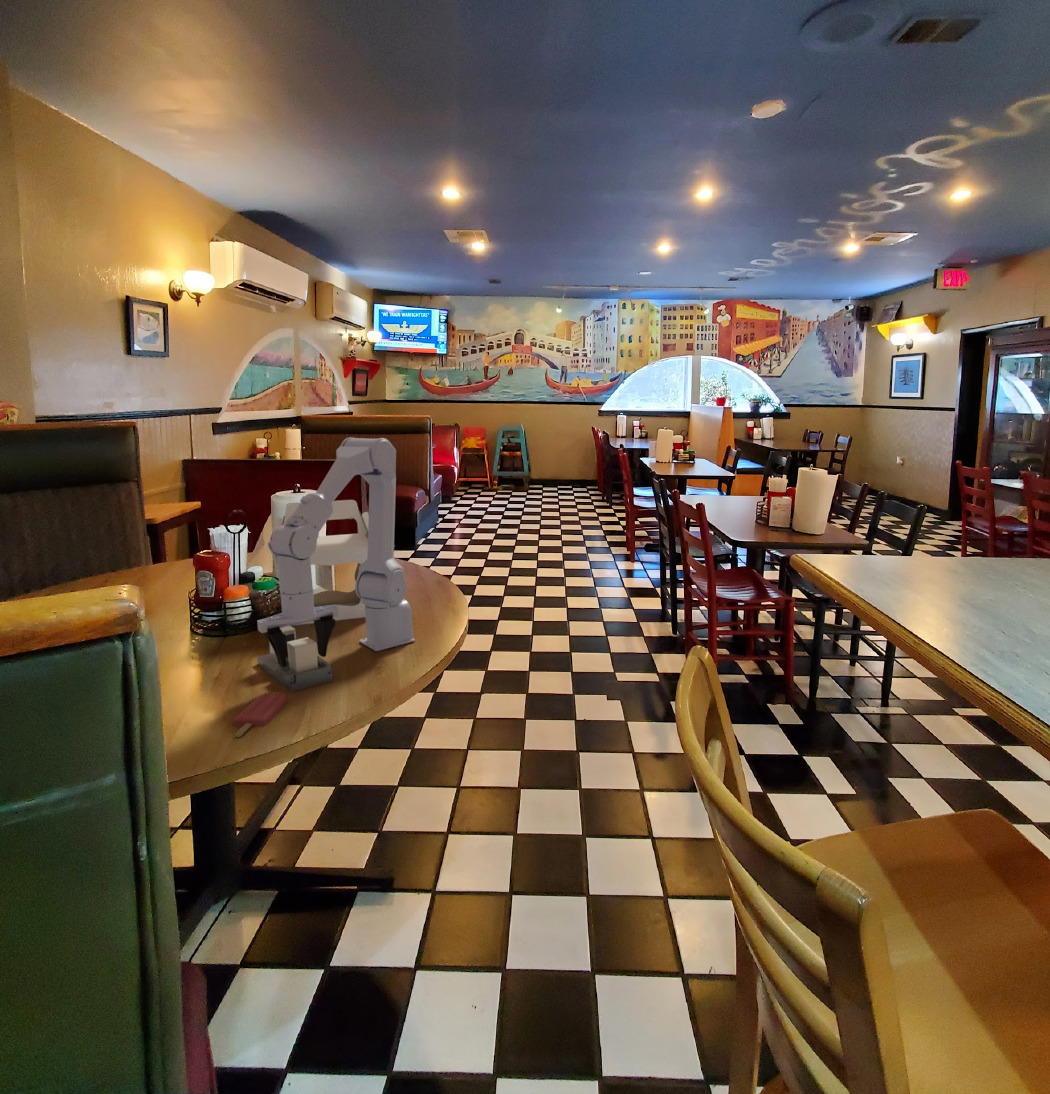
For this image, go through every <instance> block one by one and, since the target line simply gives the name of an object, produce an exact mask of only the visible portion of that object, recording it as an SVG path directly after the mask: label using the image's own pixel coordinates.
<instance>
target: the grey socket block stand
mask: <svg viewBox="0 0 1050 1094" xmlns="http://www.w3.org/2000/svg"><path fill="white" fill-rule="evenodd" d="M280 630H282V633H283V634H285V656H286V667H281V666H280V665H279V664H278V660H277V657H276V654H275V652H274V649H273V647H272V645H271V644H270V642H269V641H268V642H269V643H268V644H269V653H268V654H263V655H259V656H256V657H257V658H256V659H257V665H259V666H260V667H261V668H262V669H263V670H264V671H265V672H267V673H268V674H269V675H271V676H272V678H273V679H275V680H276V681H277V682H279V683H280V685H282V686H283V687H284V688H286V689H287V690H288V691H289V692H290V693H293V692H297V691H300V690H305V689H308V688H311V687H315V686H319V685H323V684H326V683H329V682H333V681H334V674H333V672H332V664H331V663H329V662H328V661H326V660H325V659H324V658H323V657H320V655H317V661H318V667H317V668H313V669H309V670H306V671H302V672H298V673H294V674H293V673H292V672H291V671H290V670H289V659H288V649H287V642H289V641H293V640H297V635H296V634H297V633H296V631H297V630H296V628H294V627H293V626H287V627H282V628H280Z"/></svg>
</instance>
